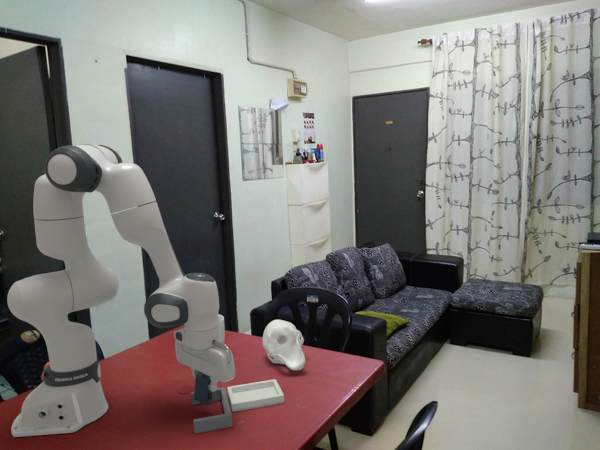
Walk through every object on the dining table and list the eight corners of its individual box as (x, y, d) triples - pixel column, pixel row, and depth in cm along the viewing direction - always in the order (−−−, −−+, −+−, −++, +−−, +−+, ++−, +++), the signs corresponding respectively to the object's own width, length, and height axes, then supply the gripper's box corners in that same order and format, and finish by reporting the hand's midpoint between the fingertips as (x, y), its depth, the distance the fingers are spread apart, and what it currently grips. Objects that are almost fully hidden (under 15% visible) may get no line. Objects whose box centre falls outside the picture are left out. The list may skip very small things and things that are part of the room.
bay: (194, 433, 111) (193, 422, 110) (191, 402, 125) (190, 392, 125) (232, 426, 113) (231, 415, 113) (225, 397, 128) (224, 386, 127)
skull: (322, 359, 140) (301, 342, 159) (300, 320, 138) (281, 308, 157) (287, 384, 137) (270, 364, 156) (263, 344, 135) (249, 329, 154)
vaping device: (207, 406, 118) (210, 364, 115) (192, 398, 120) (195, 357, 118) (213, 402, 120) (217, 360, 117) (198, 394, 122) (201, 353, 120)
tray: (232, 412, 120) (231, 404, 119) (227, 394, 129) (227, 386, 129) (284, 403, 123) (283, 395, 123) (276, 386, 133) (275, 379, 133)
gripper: (239, 342, 112) (242, 394, 114) (189, 324, 125) (192, 371, 127) (219, 350, 107) (222, 405, 109) (169, 330, 121) (173, 380, 123)
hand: (206, 387), depth 119 cm, fingers closed on vaping device, 4 cm apart
